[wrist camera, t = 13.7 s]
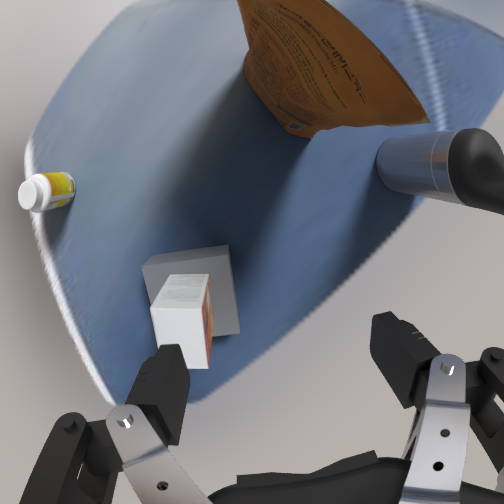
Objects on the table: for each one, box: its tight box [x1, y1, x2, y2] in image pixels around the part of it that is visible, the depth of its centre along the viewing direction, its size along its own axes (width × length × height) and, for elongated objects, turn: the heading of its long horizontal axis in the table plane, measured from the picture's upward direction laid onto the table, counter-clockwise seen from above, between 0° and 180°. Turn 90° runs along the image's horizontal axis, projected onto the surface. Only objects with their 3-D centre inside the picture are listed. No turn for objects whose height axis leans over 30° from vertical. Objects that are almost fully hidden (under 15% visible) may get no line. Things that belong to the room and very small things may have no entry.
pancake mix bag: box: [237, 0, 431, 138], centre depth 23 cm, size 7×19×28 cm, turn 36°
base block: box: [141, 244, 240, 337], centre depth 41 cm, size 12×12×6 cm
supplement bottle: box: [18, 172, 75, 213], centre depth 32 cm, size 6×6×10 cm
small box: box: [150, 274, 213, 369], centre depth 33 cm, size 8×6×10 cm
